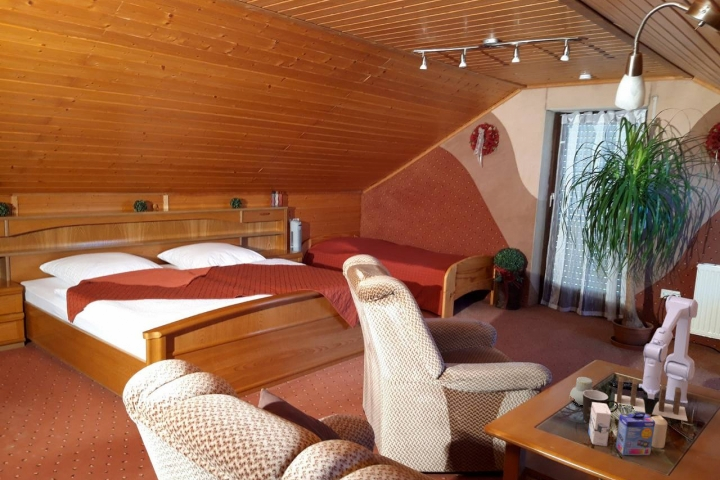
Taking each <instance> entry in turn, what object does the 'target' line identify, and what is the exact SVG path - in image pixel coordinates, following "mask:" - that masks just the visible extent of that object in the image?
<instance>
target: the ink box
mask: <svg viewBox="0 0 720 480" xmlns="http://www.w3.org/2000/svg"><path fill="white" fill-rule="evenodd" d="M610 411H611V410H610V408H609V406H608V405H607V404H604V403H596V402H592V407H591V415H590V423H588V431H587V433H588V437H589V438H590V441H591V443H592V445H596V446H602V447H607V446H608V439H609V434H610V433H609V432H610V427H611V420H612V419H611V418H612V413H611V412H610Z"/></svg>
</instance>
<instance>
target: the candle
mask: <svg viewBox="0 0 720 480" xmlns="http://www.w3.org/2000/svg"><path fill="white" fill-rule="evenodd" d="M650 418H652V419H653V420H654V421H655V426H654V433H653V439H652V446H651V448H652V447H653V448H656V449H663V448H665V444H666V438H667V429H668V421H667V420H666V419H665V418H664V416H660V415H653V416H650Z"/></svg>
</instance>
